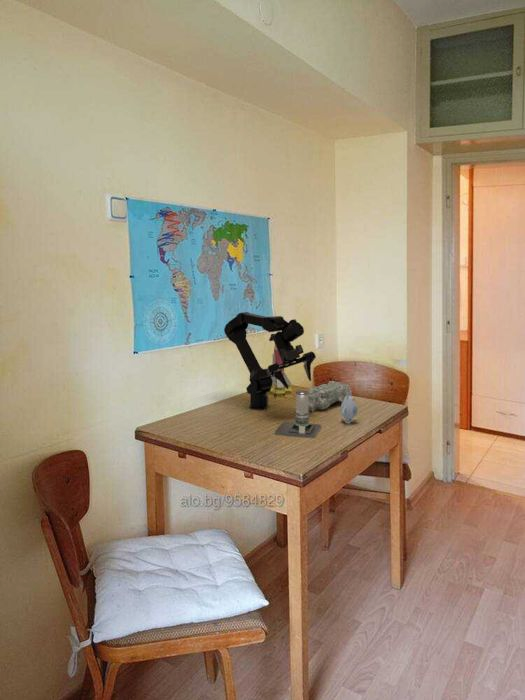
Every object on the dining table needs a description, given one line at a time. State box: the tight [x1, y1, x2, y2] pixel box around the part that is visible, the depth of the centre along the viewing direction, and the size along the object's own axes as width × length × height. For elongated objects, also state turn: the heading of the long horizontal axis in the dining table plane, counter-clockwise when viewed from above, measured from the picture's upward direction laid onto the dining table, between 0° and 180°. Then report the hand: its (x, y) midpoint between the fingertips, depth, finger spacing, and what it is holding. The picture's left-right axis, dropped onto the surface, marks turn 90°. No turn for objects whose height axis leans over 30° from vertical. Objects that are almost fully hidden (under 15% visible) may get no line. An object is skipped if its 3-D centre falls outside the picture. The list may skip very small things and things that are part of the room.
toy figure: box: [339, 389, 358, 425], centre depth 196 cm, size 11×6×12 cm, turn 144°
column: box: [293, 390, 310, 430], centre depth 184 cm, size 5×5×13 cm
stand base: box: [274, 421, 322, 439], centre depth 187 cm, size 14×12×4 cm
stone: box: [307, 380, 351, 413], centre depth 220 cm, size 12×10×30 cm
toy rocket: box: [267, 331, 294, 400], centre depth 233 cm, size 12×12×30 cm
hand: (299, 384), depth 198 cm, fingers open, 9 cm apart
